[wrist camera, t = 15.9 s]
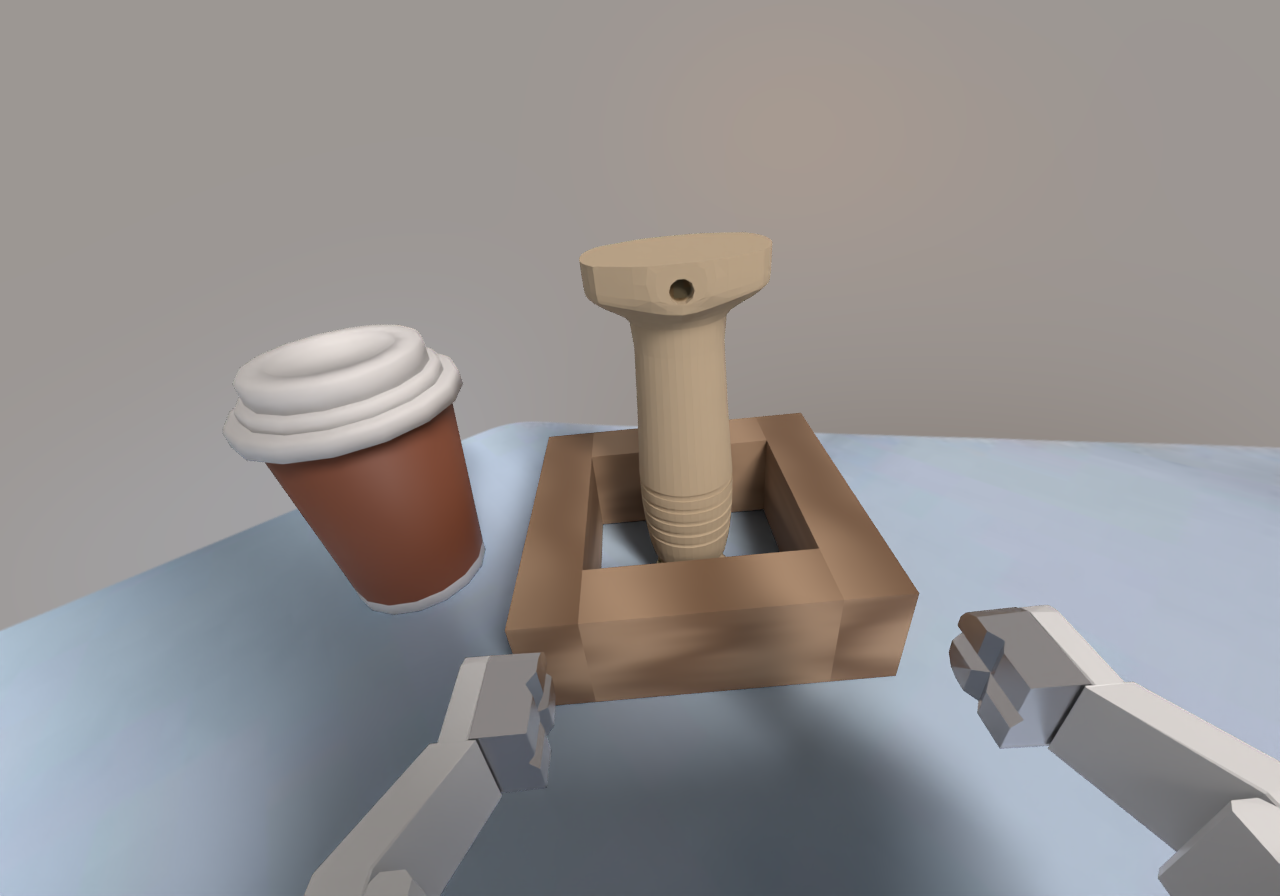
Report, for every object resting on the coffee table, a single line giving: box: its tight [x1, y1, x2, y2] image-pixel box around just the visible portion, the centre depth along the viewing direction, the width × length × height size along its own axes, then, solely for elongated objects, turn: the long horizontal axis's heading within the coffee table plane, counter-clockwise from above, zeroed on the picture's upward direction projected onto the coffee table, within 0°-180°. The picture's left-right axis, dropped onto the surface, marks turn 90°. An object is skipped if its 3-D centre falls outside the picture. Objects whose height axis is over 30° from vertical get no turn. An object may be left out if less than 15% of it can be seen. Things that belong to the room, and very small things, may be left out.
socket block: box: [505, 413, 919, 705], centre depth 24 cm, size 14×13×4 cm
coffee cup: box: [223, 325, 485, 615], centre depth 24 cm, size 9×9×12 cm
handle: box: [579, 232, 772, 563], centre depth 21 cm, size 5×6×15 cm
